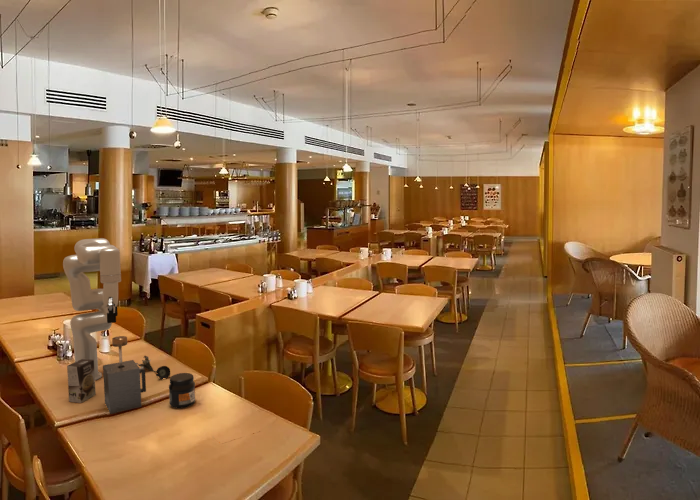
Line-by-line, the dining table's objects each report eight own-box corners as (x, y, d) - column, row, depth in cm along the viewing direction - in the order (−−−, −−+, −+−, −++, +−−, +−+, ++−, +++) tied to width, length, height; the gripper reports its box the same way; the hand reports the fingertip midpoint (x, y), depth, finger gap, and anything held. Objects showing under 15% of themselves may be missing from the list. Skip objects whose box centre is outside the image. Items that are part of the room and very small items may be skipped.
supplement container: (198, 405, 209) (197, 378, 208) (172, 411, 204) (171, 383, 202) (192, 396, 218) (191, 370, 217) (167, 401, 213) (166, 375, 211)
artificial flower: (155, 385, 234) (147, 366, 232) (138, 377, 251) (131, 359, 249) (172, 375, 240) (165, 357, 238) (154, 368, 257) (147, 351, 254)
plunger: (106, 379, 209) (104, 337, 207) (131, 374, 215) (129, 333, 213) (111, 387, 201) (108, 343, 199) (136, 381, 207) (134, 339, 205)
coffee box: (81, 403, 211) (79, 366, 209) (68, 401, 212) (66, 365, 210) (96, 394, 220) (94, 359, 218) (83, 393, 221) (81, 358, 219)
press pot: (104, 403, 211) (102, 365, 209) (142, 395, 220) (141, 358, 217) (110, 413, 201) (107, 374, 199) (149, 404, 210) (147, 366, 208)
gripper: (102, 274, 207) (104, 314, 209) (98, 283, 191) (100, 326, 194) (122, 273, 210) (123, 313, 212) (119, 282, 194) (121, 324, 196)
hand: (112, 319), depth 203 cm, fingers open, 9 cm apart
